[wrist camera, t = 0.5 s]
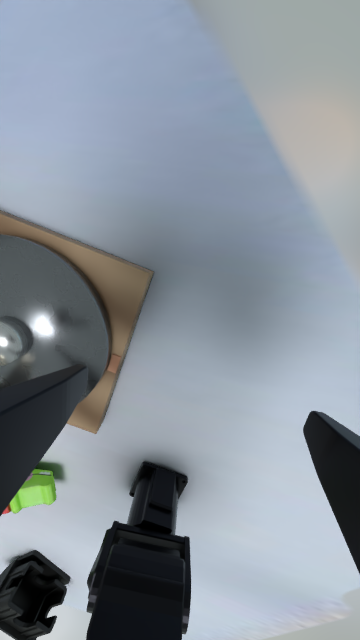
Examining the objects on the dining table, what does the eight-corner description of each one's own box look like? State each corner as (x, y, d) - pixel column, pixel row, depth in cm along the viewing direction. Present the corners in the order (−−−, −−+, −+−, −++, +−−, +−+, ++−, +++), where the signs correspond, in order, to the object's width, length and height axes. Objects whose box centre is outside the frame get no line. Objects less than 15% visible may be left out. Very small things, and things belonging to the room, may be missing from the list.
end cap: (8, 558, 38) (-30, 620, 32) (34, 547, 37) (-1, 609, 30) (47, 588, 40) (19, 652, 34) (73, 579, 39) (49, 644, 32)
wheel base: (103, 421, 27) (95, 435, 25) (-50, 365, 26) (-72, 374, 24) (153, 271, 21) (149, 273, 19) (-43, 192, 20) (-71, 185, 18)
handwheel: (87, 430, 25) (58, 477, 20) (-64, 374, 24) (-137, 408, 19) (134, 280, 19) (111, 290, 14) (-61, 202, 18) (-163, 182, 13)
